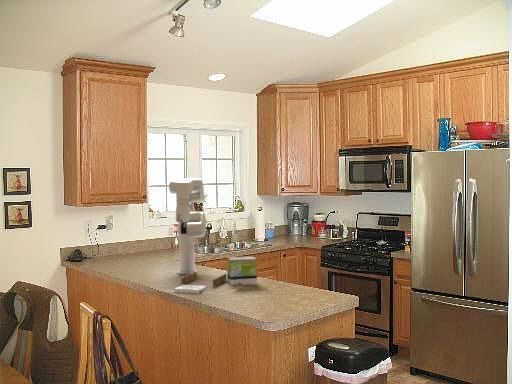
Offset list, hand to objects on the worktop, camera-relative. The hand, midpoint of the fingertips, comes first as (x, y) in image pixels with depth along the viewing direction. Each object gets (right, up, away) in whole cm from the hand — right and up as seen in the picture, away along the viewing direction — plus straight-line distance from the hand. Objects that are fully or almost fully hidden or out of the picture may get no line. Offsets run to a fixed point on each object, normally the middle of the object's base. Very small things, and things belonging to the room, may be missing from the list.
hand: (183, 233), depth 319 cm
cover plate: (+8, -29, -30) cm, 42 cm away
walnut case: (+13, -27, -14) cm, 34 cm away
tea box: (+35, -27, -14) cm, 46 cm away
